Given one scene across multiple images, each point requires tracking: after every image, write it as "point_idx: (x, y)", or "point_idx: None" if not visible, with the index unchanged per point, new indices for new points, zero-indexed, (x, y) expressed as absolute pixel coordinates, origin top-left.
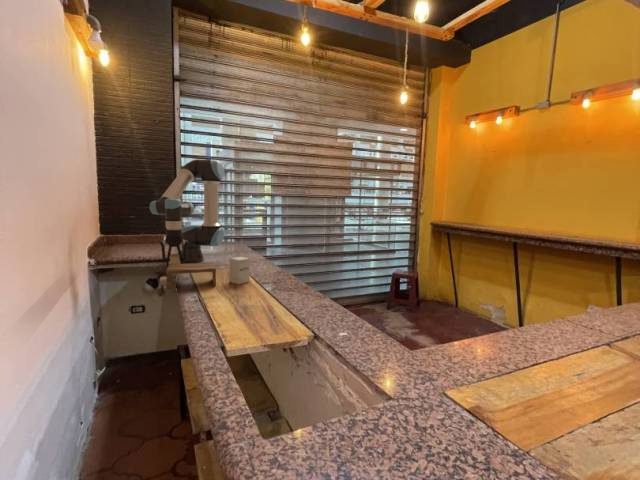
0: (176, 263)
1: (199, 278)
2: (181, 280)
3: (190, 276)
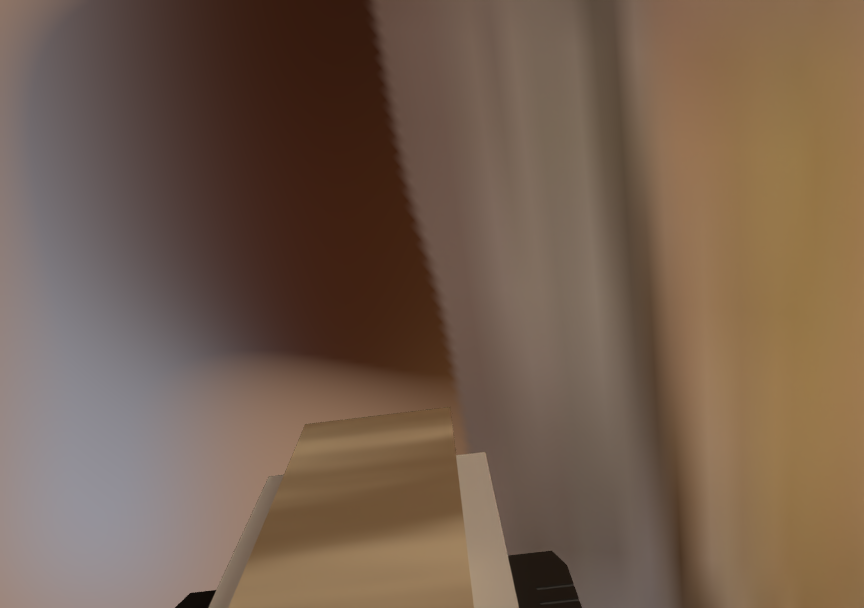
0: None
1: (787, 513)
2: None
3: (633, 375)
